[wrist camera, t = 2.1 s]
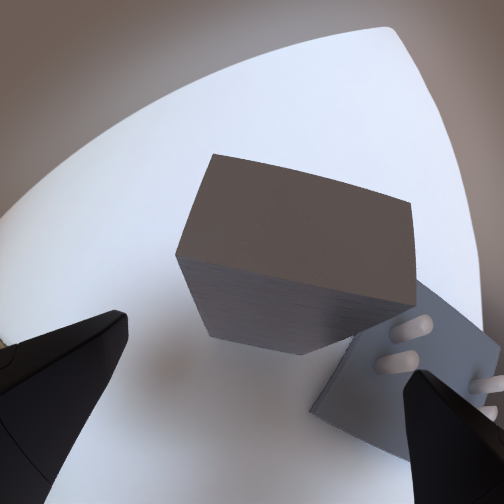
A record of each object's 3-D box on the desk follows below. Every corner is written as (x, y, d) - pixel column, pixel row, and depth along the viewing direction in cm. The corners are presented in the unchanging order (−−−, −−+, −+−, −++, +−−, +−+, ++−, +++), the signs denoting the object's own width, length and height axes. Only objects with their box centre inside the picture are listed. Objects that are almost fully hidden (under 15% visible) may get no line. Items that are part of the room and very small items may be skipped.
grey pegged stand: (441, 474, 13) (479, 483, 9) (308, 411, 16) (334, 420, 12) (492, 350, 18) (528, 338, 14) (387, 269, 21) (419, 242, 16)
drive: (301, 355, 18) (416, 305, 6) (209, 336, 18) (175, 254, 6) (309, 305, 19) (410, 197, 8) (222, 287, 19) (214, 148, 8)
